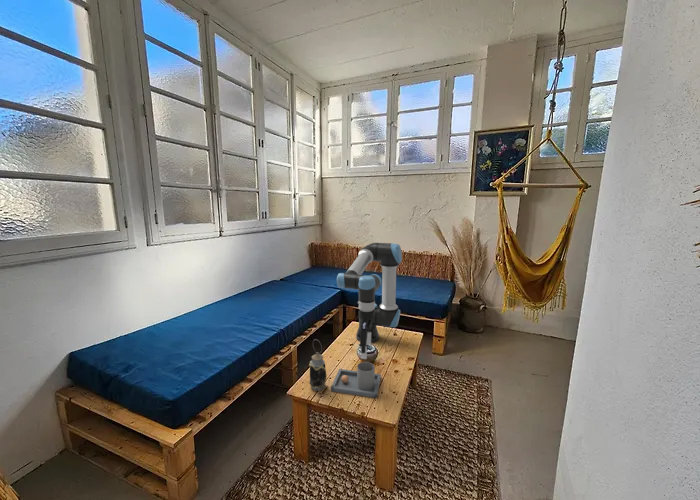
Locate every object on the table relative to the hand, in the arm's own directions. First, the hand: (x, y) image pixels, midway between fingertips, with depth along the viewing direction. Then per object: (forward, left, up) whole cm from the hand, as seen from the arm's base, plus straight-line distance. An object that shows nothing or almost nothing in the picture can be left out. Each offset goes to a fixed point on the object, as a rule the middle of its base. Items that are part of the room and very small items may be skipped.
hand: (366, 351), depth 137 cm
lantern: (+6, -22, -19) cm, 30 cm away
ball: (0, -10, -18) cm, 21 cm away
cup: (0, 0, -18) cm, 18 cm away
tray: (0, -4, -19) cm, 19 cm away
